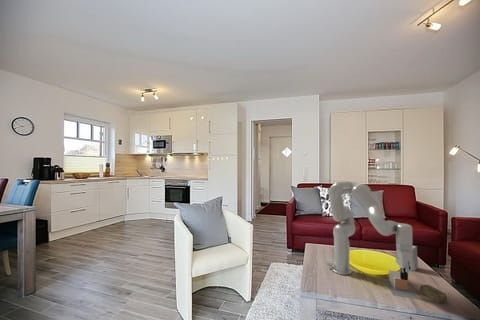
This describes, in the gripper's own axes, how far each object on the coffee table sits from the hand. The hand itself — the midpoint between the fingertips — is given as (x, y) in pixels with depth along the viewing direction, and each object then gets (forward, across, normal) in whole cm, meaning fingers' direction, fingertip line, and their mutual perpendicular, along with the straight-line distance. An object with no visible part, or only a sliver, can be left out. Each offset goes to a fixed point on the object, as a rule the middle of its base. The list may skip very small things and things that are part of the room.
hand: (404, 279), depth 131 cm
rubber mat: (+8, -6, 0) cm, 10 cm away
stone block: (+9, -1, +14) cm, 17 cm away
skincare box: (+8, -40, +16) cm, 44 cm away
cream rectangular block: (+5, -4, 0) cm, 6 cm away
